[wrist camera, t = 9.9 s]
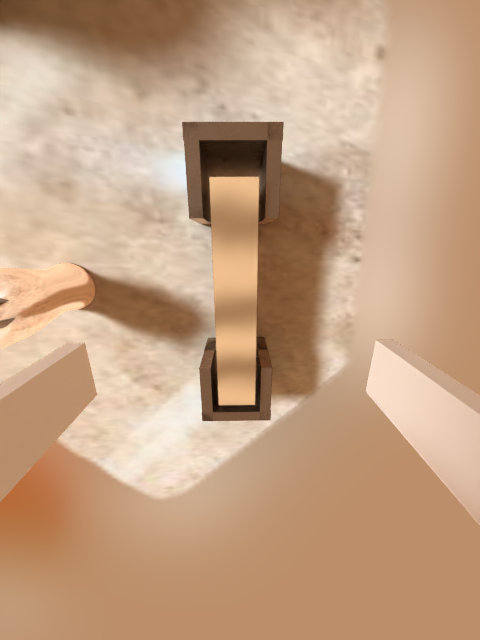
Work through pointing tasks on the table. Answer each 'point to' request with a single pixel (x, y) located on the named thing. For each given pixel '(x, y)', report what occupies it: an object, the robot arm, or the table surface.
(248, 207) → the rail
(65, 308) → the shiny metal tumbler
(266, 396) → the brackets
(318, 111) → the table surface
